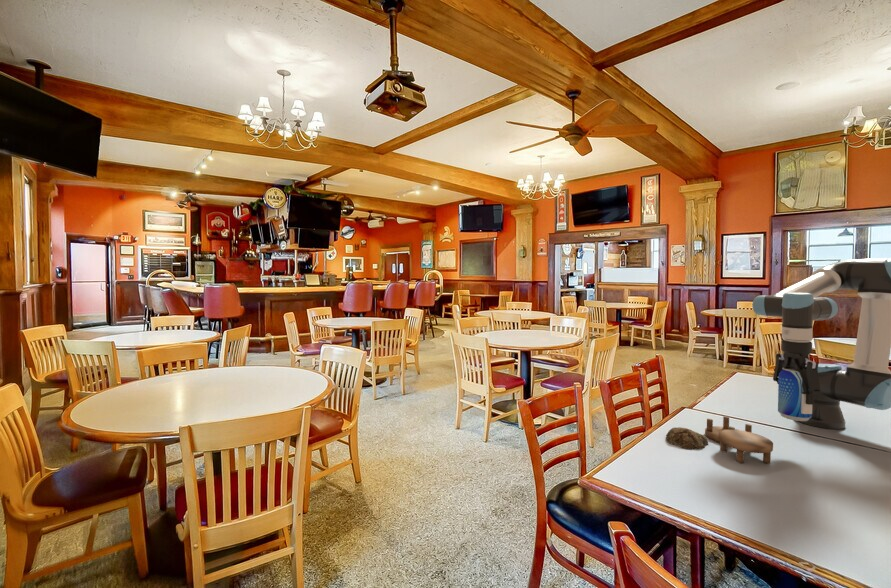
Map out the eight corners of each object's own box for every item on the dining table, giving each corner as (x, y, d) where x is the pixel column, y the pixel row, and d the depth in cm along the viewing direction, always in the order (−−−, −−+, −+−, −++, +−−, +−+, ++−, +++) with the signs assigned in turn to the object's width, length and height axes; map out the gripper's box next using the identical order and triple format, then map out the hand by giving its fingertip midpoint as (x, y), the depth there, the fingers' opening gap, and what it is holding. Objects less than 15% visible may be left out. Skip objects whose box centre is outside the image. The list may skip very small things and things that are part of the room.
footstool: (751, 447, 134) (751, 429, 134) (784, 467, 120) (785, 447, 120) (708, 446, 135) (709, 429, 135) (736, 466, 121) (737, 447, 121)
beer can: (818, 422, 125) (820, 372, 125) (787, 421, 127) (789, 372, 126) (800, 413, 134) (801, 366, 133) (772, 412, 135) (773, 365, 135)
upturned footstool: (724, 429, 150) (724, 413, 150) (763, 444, 137) (763, 427, 137) (695, 433, 146) (696, 417, 146) (733, 449, 133) (733, 431, 132)
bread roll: (671, 432, 148) (671, 419, 148) (710, 442, 139) (711, 428, 139) (660, 443, 139) (660, 429, 139) (701, 454, 130) (701, 439, 130)
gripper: (760, 335, 140) (759, 398, 141) (812, 346, 119) (810, 420, 120) (782, 334, 139) (781, 398, 141) (839, 346, 118) (836, 420, 120)
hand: (794, 408), depth 130 cm, fingers closed on beer can, 8 cm apart
